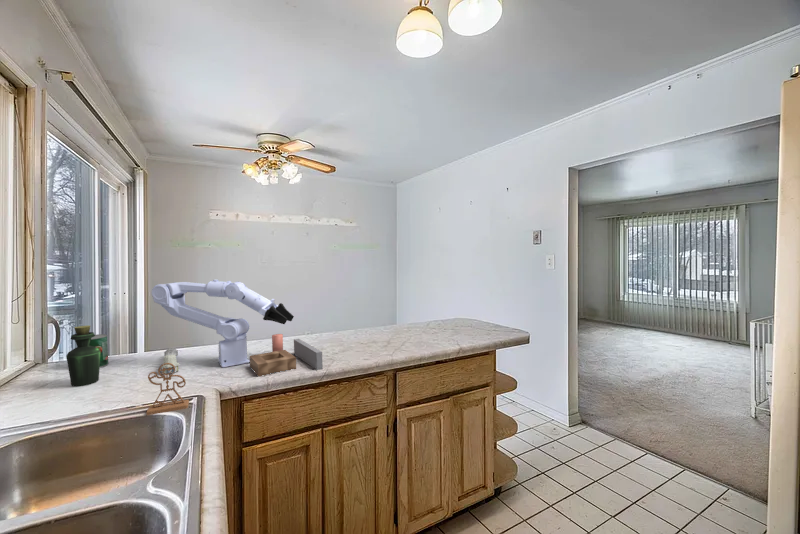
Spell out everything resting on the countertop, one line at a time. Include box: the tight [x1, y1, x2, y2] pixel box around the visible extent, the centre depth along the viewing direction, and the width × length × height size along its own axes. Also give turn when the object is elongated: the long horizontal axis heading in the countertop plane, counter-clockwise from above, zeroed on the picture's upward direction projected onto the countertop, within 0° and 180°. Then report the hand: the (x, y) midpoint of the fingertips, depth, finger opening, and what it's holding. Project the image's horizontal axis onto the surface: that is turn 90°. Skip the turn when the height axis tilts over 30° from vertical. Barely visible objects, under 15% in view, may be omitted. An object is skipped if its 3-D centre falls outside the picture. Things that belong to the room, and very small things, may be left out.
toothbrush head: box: [160, 347, 180, 374], centre depth 128 cm, size 5×7×25 cm
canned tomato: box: [89, 333, 110, 369], centre depth 128 cm, size 8×8×11 cm
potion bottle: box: [66, 325, 101, 388], centre depth 110 cm, size 8×8×18 cm
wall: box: [293, 338, 323, 371], centre depth 129 cm, size 2×24×6 cm, turn 35°
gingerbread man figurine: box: [145, 363, 190, 416], centre depth 90 cm, size 9×4×12 cm, turn 116°
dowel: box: [271, 333, 284, 352], centre depth 138 cm, size 4×4×8 cm
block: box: [249, 349, 297, 377], centre depth 122 cm, size 12×12×4 cm
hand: (289, 320), depth 128 cm, fingers open, 7 cm apart
